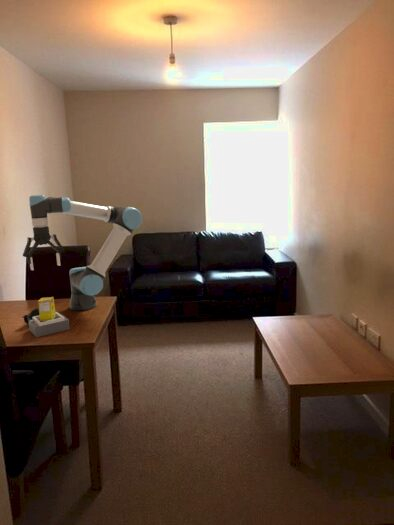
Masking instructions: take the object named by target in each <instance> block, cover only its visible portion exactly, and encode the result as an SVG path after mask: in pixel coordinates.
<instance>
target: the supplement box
mask: <svg viewBox="0 0 394 525" xmlns="http://www.w3.org/2000/svg"><path fill="white" fill-rule="evenodd" d="M37 305H38V308H39V314H40V321H41V322H44V321H48V320H53V319H55V318H56V313H55V312H56V306H55V299H54V296H51V297H50V296H49V297H48V296H47V297H45V296H44V297H41V298H40V299H39V300H37Z"/></svg>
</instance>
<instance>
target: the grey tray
mask: <svg viewBox="0 0 394 525" xmlns="http://www.w3.org/2000/svg"><path fill="white" fill-rule="evenodd" d="M55 313H56V318H55V319H53V320H48V321H44V322H41V321H40V315H39V316H34V317H32V319H33V320H30V321H29V324H28V327H29V332H30V333H31V334H32V335H33V336H35V338H39V337H43V336H47V335H52V334H56V333H60V332H64V331H65V332H66V331H69V330H71V328H70V320H69V318H67V317H66V316H65V315H63V314H62V313H59V312H57V311H55Z"/></svg>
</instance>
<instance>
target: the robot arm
mask: <svg viewBox="0 0 394 525" xmlns="http://www.w3.org/2000/svg"><path fill="white" fill-rule="evenodd" d="M28 200H29V201H28V202H29V209H30V216H31V225H32V231H33V232H32V233H33V237H29V236H28V237H27V239H26V240H27V243H26V245H25V246H24V250H23V253H22V257H24V258H26V260H27V264H28V265H29V268H30V271H34V270H35V269H34V262H33V257H32V255H33V253H34V252H35V251H36V249H37V248H38V246H44V245H49V246H50V247H51V248H52V249H53V250H54V251H56V253H55V255H56V265H57V266H62V265H61V260H62V253H63V252H65V248H64V247H63V245H62V243H60V241H59V240H58V237H57V234H56V233H52V234H50V226H49V219H48V214H58V213H59V214H66V215H71V216H76V217H82V218H88V219H95V220H101V221H103V222H105V223H108V224H112V226H113V228H112V229H111V232H110V233H109V234H108V236H107V238H106V240H105V241H104V243H103V244H102V247H101V248H100V250H99V251H98V253H97V254H96V256H95V257H94V259H93V260H92V263H90V265H89V264H88V265H86V266H82V267H80V266H79V267H74V268H70V270H69V272H68V273H69V281H70V291H71V296H70V301H69V309H70V310H72V311H86V310H87V311H88V310H91V309H94V308H96V307H97V305H98V303H97V302H98V301H97V299H96V297H95V296H96V295H98V294H99V293H101V291H102V290H103V288H104V280H105V279H106V271H107V270H108V268H109V266H110V264H112V262H113V260H114V258H115V256H116V255H117V253H118V251H119V250H120V248H121V246H122V245H123V244H124V241H125V240H126V239H127V237H128V236H131V235H132V233H133V232H134V230H136V229H138V228H139V227H140V226H141V225H142V222H143V216H142V213H141V212H140V210H139V209H137V208H135V207H133V206H132V207H131V206H111V205H107V206H102V205H97V204H96V205H95V204H91V203H85V202H81V201H76V200H75V201H74V200H71V199H70V198H69V197H66V196H65V197H53V196H48V197H46V195H44V194H35V195H30V196H29V199H28ZM51 239H53V241H54V242H55V243H56V244H54V243H53V242H51V241H50V240H51ZM33 241H34V243H33V245H32V242H33ZM31 245H32V247H31ZM56 245H57V246H56ZM30 247H31V248H30Z"/></svg>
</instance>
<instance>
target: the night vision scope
mask: <svg viewBox="0 0 394 525" xmlns="http://www.w3.org/2000/svg"><path fill="white" fill-rule="evenodd" d="M39 315H40V314H39V307H36V308H35V309H33V310H32V311H31V312H30V313H28V314H24V316H22V317H21V318H22V319H23V321H24V323H25V324H26V325H29V321H30V320H33V319H32V317H34V316H39Z"/></svg>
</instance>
